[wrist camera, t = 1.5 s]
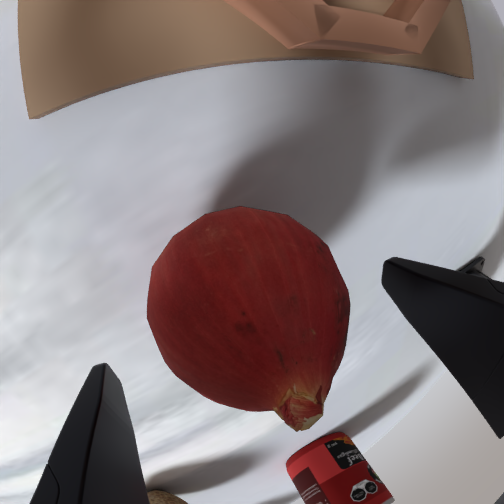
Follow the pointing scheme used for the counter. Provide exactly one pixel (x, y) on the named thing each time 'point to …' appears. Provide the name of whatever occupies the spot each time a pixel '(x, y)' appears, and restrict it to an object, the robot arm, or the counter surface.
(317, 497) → the canned food
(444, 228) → the counter surface
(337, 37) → the onion holder
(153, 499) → the natural sponge
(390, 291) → the robot arm
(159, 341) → the onion
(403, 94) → the counter surface
